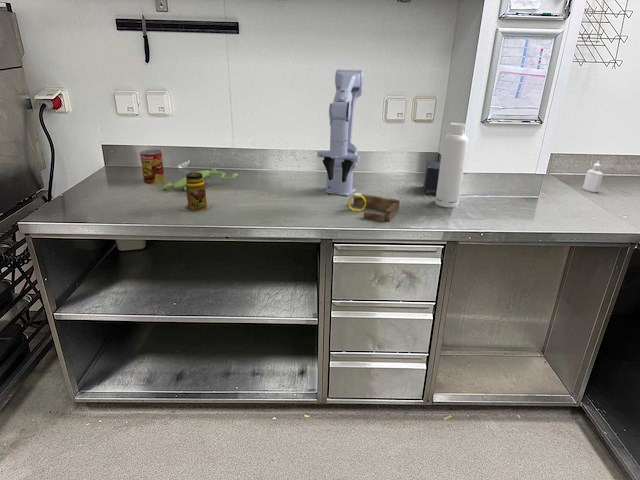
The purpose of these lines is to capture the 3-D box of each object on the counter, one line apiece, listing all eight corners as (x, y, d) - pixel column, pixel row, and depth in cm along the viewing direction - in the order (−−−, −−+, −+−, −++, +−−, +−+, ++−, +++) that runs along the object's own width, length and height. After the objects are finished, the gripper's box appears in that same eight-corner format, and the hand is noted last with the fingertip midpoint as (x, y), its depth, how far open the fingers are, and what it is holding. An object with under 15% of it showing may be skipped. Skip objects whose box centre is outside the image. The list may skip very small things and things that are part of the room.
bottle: (437, 198, 163) (448, 121, 151) (460, 202, 159) (472, 123, 148) (432, 205, 156) (443, 124, 144) (455, 208, 153) (468, 127, 141)
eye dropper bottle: (588, 192, 172) (596, 162, 167) (580, 188, 177) (589, 159, 172) (599, 193, 172) (608, 163, 167) (591, 188, 177) (600, 159, 172)
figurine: (244, 186, 173) (243, 172, 171) (181, 201, 156) (180, 185, 154) (218, 176, 185) (217, 163, 183) (158, 188, 168) (156, 174, 166)
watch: (364, 210, 151) (367, 193, 148) (364, 213, 148) (367, 196, 146) (347, 208, 151) (349, 191, 149) (347, 211, 149) (349, 194, 146)
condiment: (201, 213, 144) (197, 178, 139) (178, 210, 147) (174, 175, 142) (212, 206, 151) (209, 172, 146) (190, 203, 153) (187, 169, 148)
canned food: (140, 181, 174) (135, 151, 169) (157, 177, 180) (152, 148, 175) (152, 185, 170) (148, 155, 165) (169, 181, 176) (165, 151, 171)
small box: (440, 196, 165) (444, 168, 161) (423, 194, 167) (426, 167, 162) (439, 187, 175) (443, 161, 170) (423, 186, 176) (426, 160, 172)
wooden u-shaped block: (342, 214, 146) (342, 202, 145) (354, 203, 156) (355, 192, 154) (388, 222, 140) (389, 210, 138) (398, 211, 150) (399, 200, 148)
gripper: (313, 140, 142) (312, 180, 148) (355, 145, 137) (353, 186, 142) (322, 136, 148) (321, 175, 154) (363, 140, 143) (360, 181, 148)
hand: (337, 180), depth 149 cm, fingers open, 4 cm apart
